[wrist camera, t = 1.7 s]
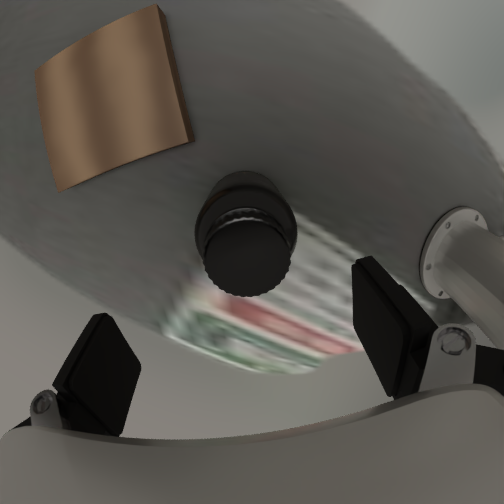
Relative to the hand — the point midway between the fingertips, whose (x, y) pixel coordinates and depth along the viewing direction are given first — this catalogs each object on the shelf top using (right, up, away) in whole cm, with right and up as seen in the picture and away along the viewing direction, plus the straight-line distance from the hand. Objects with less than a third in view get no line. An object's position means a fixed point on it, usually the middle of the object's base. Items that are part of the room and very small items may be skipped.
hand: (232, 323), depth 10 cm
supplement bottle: (0, +7, +16) cm, 17 cm away
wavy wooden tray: (-13, +17, +11) cm, 24 cm away
